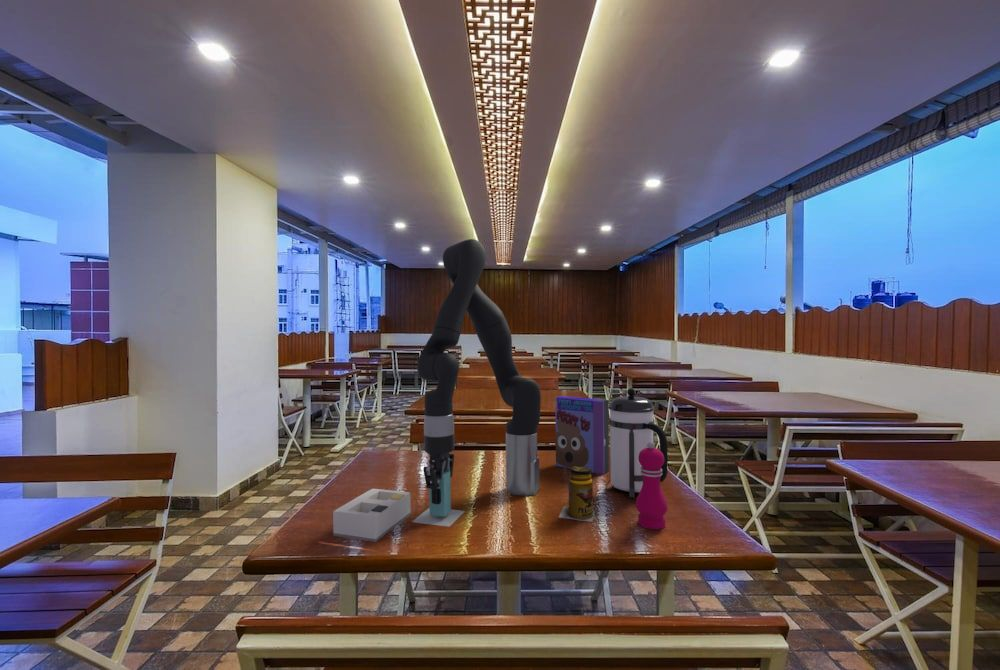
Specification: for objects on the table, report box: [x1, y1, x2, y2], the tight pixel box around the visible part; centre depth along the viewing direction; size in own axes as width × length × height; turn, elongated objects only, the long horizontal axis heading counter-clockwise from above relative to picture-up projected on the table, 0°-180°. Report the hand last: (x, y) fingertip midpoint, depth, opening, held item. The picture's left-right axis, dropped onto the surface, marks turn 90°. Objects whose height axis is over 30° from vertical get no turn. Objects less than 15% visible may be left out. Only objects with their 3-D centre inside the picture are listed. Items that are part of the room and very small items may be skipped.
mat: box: [411, 506, 465, 528], centre depth 117 cm, size 10×10×1 cm
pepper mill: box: [635, 441, 668, 530], centre depth 112 cm, size 7×7×20 cm
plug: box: [428, 471, 452, 517], centre depth 116 cm, size 4×4×10 cm
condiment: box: [558, 466, 596, 523], centre depth 118 cm, size 7×8×12 cm
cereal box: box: [554, 395, 610, 476], centre depth 157 cm, size 17×5×24 cm, turn 55°
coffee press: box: [605, 388, 669, 500], centre depth 134 cm, size 17×16×30 cm
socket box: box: [332, 488, 411, 543], centre depth 112 cm, size 11×16×6 cm
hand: (440, 499), depth 116 cm, fingers closed on plug, 4 cm apart
